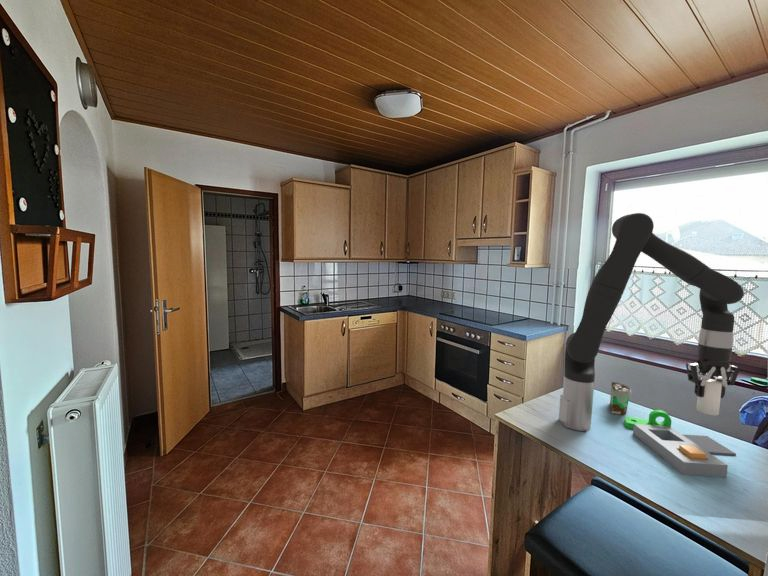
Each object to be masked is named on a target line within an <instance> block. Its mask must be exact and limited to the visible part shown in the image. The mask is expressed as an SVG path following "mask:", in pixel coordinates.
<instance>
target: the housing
mask: <svg viewBox="0 0 768 576" xmlns="http://www.w3.org/2000/svg"><path fill="white" fill-rule="evenodd" d="M632 434H633V435H634V436H635V437H636V438H638V439H639V440H640V441H641V442H643V443H644V444H645V445H646V446H648V447H649V448H650V449H651V450H652V451H654V452H655V454H657V455H659V456H660V457H661V458H662V459H663V460H665V461H666V462H667V463H669V465H671V466H672V467H673V468H675V469H676V470H677V471H678V472H679V473H681V474H682V475H686V476H687V475H690V476H700V477H703V476H704V477H717V478H727V476H728V475H727V474H728V467H729V465H728V464H726V463H725V462H724V461H723V460H721V459H719V458H718V457H716V456H715V455H714V454H710V453H709V452H707V451H706V450H704V449H703V448H701V447H700V446H698V445H697V444H695V443H694V442H692V441H691V440H689V439H688V438H686V437H685V436H683V435H682V434H681V433H680V432H678V430H675V429H674V428H672V426H671V427H670V426H661V425H645V424H634V427H633V429H632ZM679 445H687V446H695V447H696V448H698V449H699V450H701V451H702V452H704V453H705V454H706V460H703V459H690V458H688V457H687V456H686V455H684V454H683V453H682V452H680V451H679Z"/></svg>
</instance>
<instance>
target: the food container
mask: <svg viewBox="0 0 768 576" xmlns="http://www.w3.org/2000/svg"><path fill="white" fill-rule="evenodd" d="M610 387H611V388H610V397H609V398H610V401H609V404H610V411H611V415H614V416H615V415H618V416H624V415H627V411H628V407H629V400H630V397H631V396H632V395H633V393H632V389H631V387H630V386H628V385H626V384H624V383H622V382H618V381H614V380H612V381H611V386H610Z"/></svg>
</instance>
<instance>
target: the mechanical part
mask: <svg viewBox="0 0 768 576" xmlns="http://www.w3.org/2000/svg"><path fill="white" fill-rule="evenodd" d="M648 416H649V417H648V419H644V418H639V417H635V416H626V417H624V423H623V424H624V426H625V427H626V429H632V430H633V427H634V424H645V425H661V426H670V427H671V428H672V418H671V417H670V415H669V414H668V413H667V412H666V411H665V410H662V409H655V410H652V411H651V412H650V413H649V414H648ZM657 418H662V419H664V420H663V421H657V420H656V419H657Z"/></svg>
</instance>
